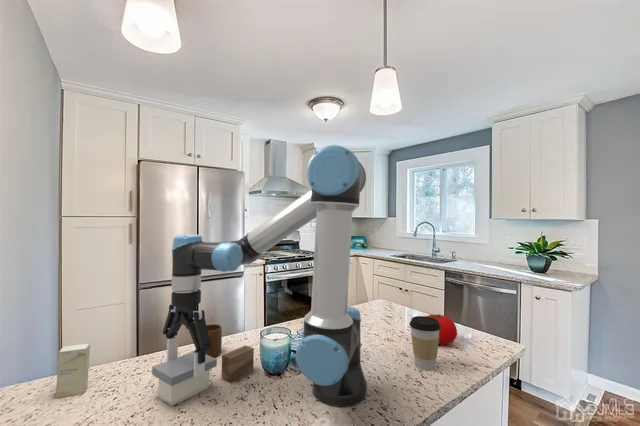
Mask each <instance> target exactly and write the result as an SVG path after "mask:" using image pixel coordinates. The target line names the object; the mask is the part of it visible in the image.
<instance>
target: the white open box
mask: <svg viewBox="0 0 640 426" xmlns="http://www.w3.org/2000/svg"><path fill="white" fill-rule="evenodd" d="M210 370H211V369H209V370H207V371H205V373H204V374H202V375H199V376H197V377H191V378H189V379H187V380H185V381H182V382H180V383H178V384H176V385H173V386H170V385H169V384H167V383H165V382H164V381H162V380H160V379H159V378H158V390H157V391H158V393H157V394H158V395H157V396H158V399H159V400H161V401H162V402H164V403H166V404H167V405H168V406H170V407H173V406H175V405H177V404H179V403H181V402H183V401H185V400H187V399H188V398H191V397H193V396H195V395H197V394H199V393H201V392H203V391H205V390H207V389H209V388H210Z"/></svg>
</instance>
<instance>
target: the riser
mask: <svg viewBox="0 0 640 426" xmlns="http://www.w3.org/2000/svg"><path fill="white" fill-rule="evenodd" d="M254 350H255V348H254V347H251V346H249V345H243V346H241V347H238V348H236V349H233V350H230V351H228V352H225V353H223V354H221V375H220V376H221V380H223V381H225V382H227V383H229V384H231V383H233V382H235V381H236V380H239V379H241V378H242V377H244V376H246V375H248V374H251V373H252V372H254V369H255V368H254V365H255V364H254V361H255V360H254V358H255V357H254V355H255V354H254V353H255V351H254Z"/></svg>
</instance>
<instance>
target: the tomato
mask: <svg viewBox="0 0 640 426" xmlns="http://www.w3.org/2000/svg"><path fill="white" fill-rule="evenodd" d="M425 316H426V317H431V318H434V319H437V320H438V321H439V324H440V326H441V329H440V330H439V343H438V345H444V346H445V345H449V344H452V343H454V341H455V340H456V339H457V336H458V330H457V326H456V324H455V322H454V320H453V319H451V318H450V317H448V316H445V315H443V314H442V315H441V313H439V314H432V313H431V314H430V313H429V314H428V315H425Z"/></svg>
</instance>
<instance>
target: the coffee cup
mask: <svg viewBox="0 0 640 426" xmlns="http://www.w3.org/2000/svg"><path fill="white" fill-rule="evenodd" d="M426 316H427V315H423V316H422V315H417V316H416V315H415V316H412V317H411V319H410V321H409V327H410V329H411V333H410V335H411V336H410V337H411V342H412V343H411V344H412V353H413V356H414V366H415V367H416V368H417V369H419V370H421V371H425V372H431V371H432V372H433V371H434V370H435V369H436V367H437V366H436V364H437V357H438V350H439V344H438V343H439V330H440V329H441V326H440V324H439V321H438V320H437V319H434V318H431V317H426Z"/></svg>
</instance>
